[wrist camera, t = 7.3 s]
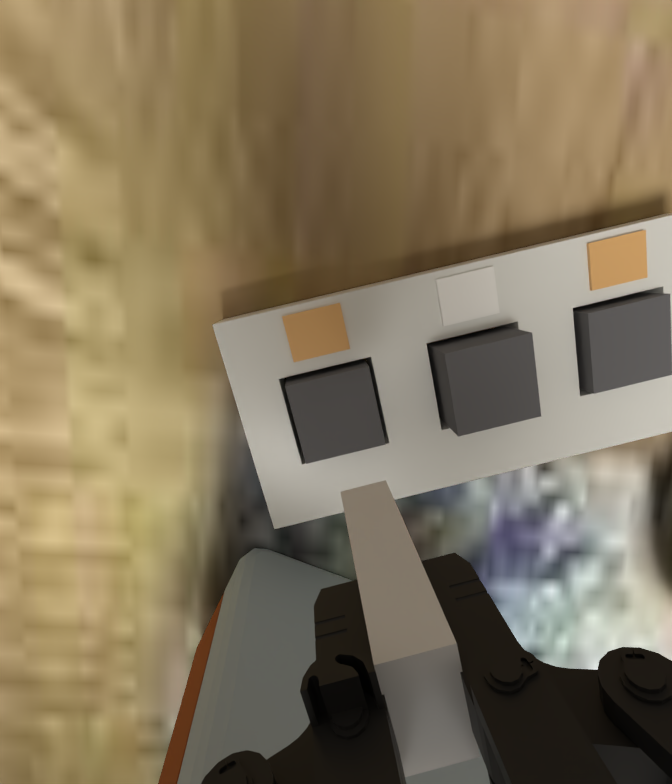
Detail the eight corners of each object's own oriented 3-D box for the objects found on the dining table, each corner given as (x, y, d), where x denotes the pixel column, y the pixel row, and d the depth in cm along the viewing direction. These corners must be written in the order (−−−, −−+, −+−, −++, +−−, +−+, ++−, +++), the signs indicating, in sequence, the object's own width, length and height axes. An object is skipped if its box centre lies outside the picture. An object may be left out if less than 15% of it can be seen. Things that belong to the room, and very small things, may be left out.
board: (277, 503, 28) (274, 531, 25) (222, 319, 25) (211, 325, 22) (667, 407, 28) (711, 423, 25) (662, 214, 25) (711, 205, 22)
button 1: (560, 380, 27) (593, 393, 24) (553, 309, 26) (588, 313, 23) (629, 363, 27) (672, 374, 24) (625, 291, 26) (670, 293, 23)
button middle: (439, 417, 26) (458, 436, 22) (426, 344, 24) (444, 353, 21) (512, 399, 26) (541, 416, 23) (503, 325, 24) (532, 332, 21)
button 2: (305, 442, 27) (305, 464, 24) (287, 373, 25) (285, 386, 22) (375, 425, 27) (385, 444, 24) (360, 355, 26) (368, 366, 22)
